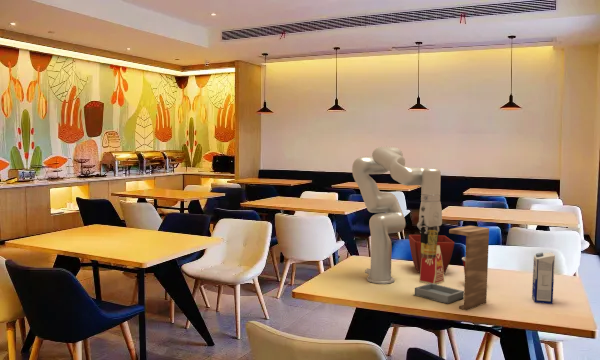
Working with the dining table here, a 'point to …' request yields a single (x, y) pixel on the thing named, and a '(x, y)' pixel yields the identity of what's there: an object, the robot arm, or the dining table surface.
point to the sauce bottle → (430, 244)
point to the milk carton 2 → (543, 278)
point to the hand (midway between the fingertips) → (429, 241)
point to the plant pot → (445, 249)
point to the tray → (439, 293)
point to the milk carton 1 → (432, 269)
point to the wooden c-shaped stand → (475, 265)
